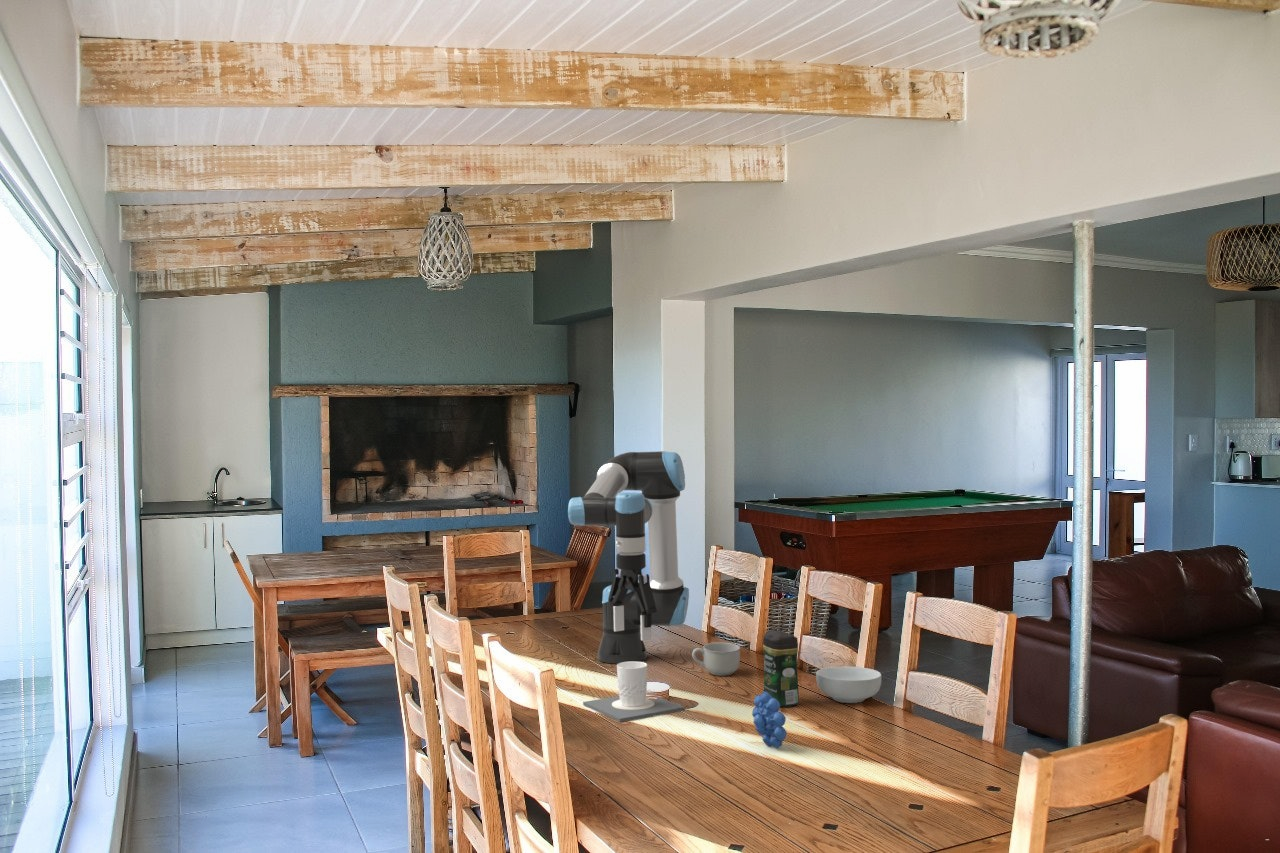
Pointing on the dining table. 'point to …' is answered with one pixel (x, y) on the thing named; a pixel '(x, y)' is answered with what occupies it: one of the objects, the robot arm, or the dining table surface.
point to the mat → (632, 708)
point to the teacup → (719, 658)
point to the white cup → (632, 683)
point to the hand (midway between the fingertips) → (632, 635)
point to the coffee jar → (781, 667)
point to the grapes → (769, 720)
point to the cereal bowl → (848, 683)
